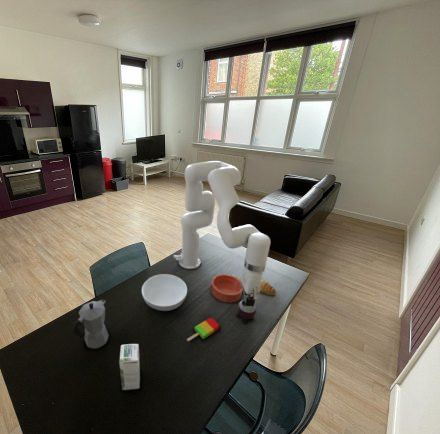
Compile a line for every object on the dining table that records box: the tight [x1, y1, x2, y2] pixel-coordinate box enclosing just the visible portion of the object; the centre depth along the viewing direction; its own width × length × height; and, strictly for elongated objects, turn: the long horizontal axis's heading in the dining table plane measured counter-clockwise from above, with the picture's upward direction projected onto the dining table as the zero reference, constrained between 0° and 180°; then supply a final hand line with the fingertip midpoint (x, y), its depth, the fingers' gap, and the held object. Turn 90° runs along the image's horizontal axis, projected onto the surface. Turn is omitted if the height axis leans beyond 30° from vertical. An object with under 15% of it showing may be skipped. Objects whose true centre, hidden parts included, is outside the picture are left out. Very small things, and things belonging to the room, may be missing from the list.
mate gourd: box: [237, 283, 257, 324], centre depth 100 cm, size 8×8×15 cm
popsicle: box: [186, 317, 220, 342], centre depth 96 cm, size 6×15×2 cm, turn 123°
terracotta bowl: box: [210, 273, 243, 304], centre depth 116 cm, size 15×15×5 cm
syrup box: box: [119, 343, 141, 391], centre depth 76 cm, size 6×6×14 cm
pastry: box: [259, 279, 277, 296], centre depth 117 cm, size 9×7×4 cm
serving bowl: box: [141, 273, 188, 312], centre depth 111 cm, size 21×21×7 cm
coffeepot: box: [71, 299, 110, 349], centre depth 89 cm, size 15×9×18 cm, turn 147°
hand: (247, 299), depth 99 cm, fingers open, 5 cm apart
